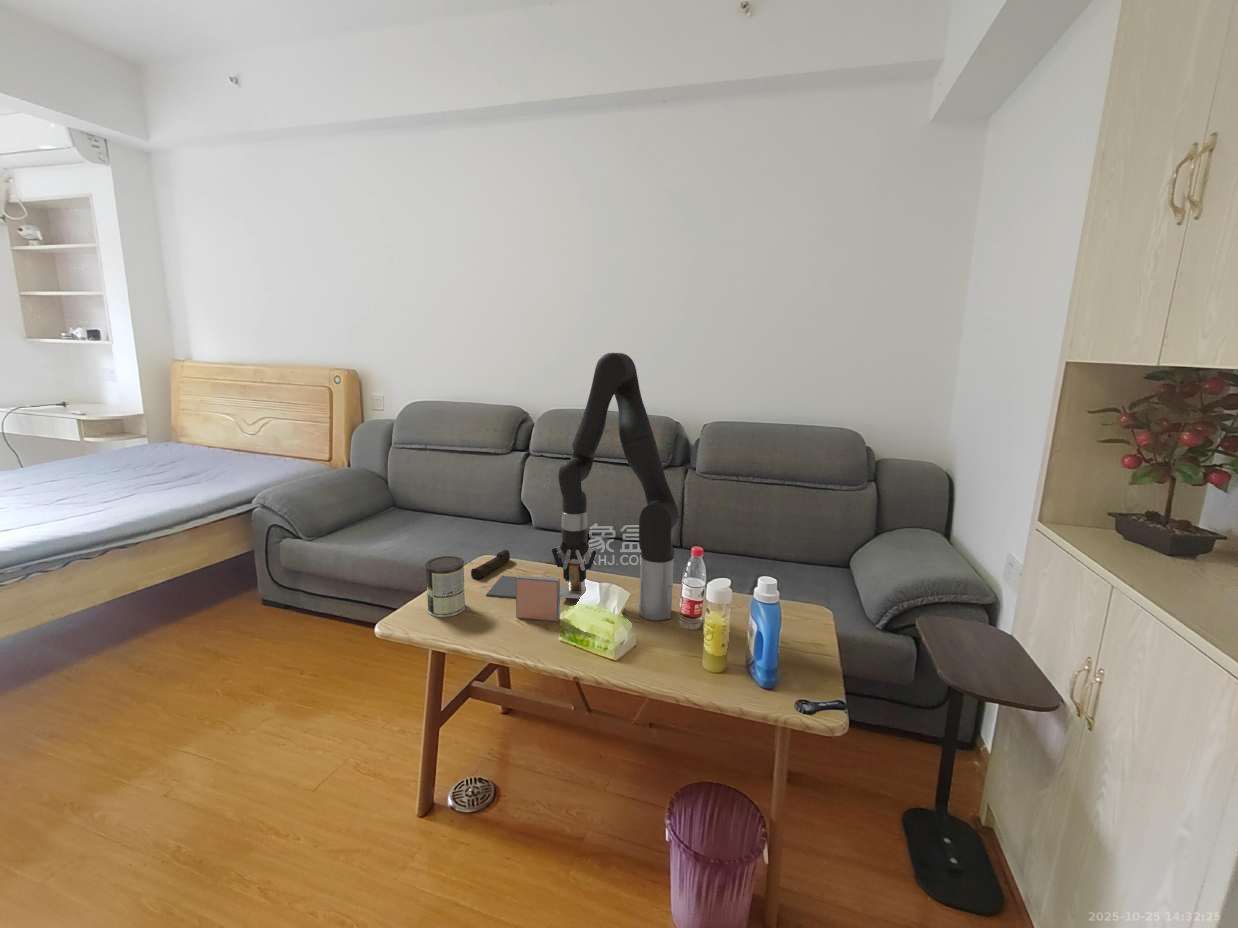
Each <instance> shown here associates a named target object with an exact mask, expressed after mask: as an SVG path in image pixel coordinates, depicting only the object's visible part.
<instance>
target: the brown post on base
mask: <svg viewBox="0 0 1238 928" xmlns="http://www.w3.org/2000/svg"><path fill="white" fill-rule="evenodd" d="M580 571H581V567H580V564H579V562H578V560H570V561H569V563H568V581H565V582H564V583H563V584H562V587H560V598H566V599H567V598H568V599H579V598H580V597H581V596H582V595H583V594H584V593H585V591H586V587H585V584H586V583H583V582H581V581H580Z"/></svg>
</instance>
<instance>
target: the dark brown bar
mask: <svg viewBox="0 0 1238 928" xmlns="http://www.w3.org/2000/svg"><path fill="white" fill-rule="evenodd" d="M510 560H511V555H510V551H509V550H507V549H504V550H502V551H500V552H497V554H496V556H495V557H494V558H492V559H490V560H488V561H486V562H485V563H482V564H481V565H479V566H476V567H475V568H471V570H470V576H471V578H472V580H476V581H480V580H481V579H483V578H484V576H486V575H488V574H489V573H491V572H493V571H495V570H496V569H497V568H499V567H504V566H506V565H507V564H508V562H509V561H510Z"/></svg>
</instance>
